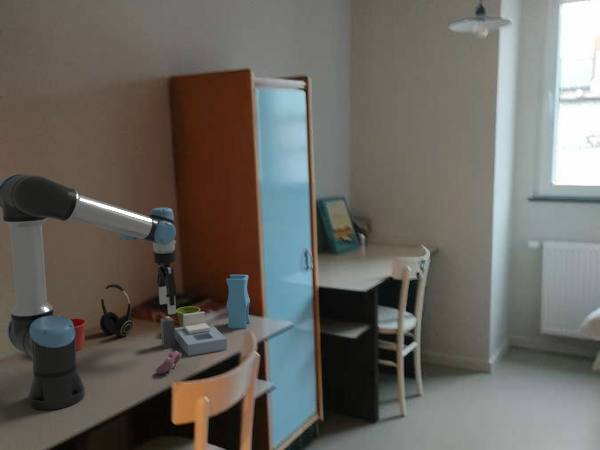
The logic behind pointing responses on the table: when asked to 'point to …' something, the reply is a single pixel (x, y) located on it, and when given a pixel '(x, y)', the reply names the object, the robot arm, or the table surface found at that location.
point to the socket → (201, 341)
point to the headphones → (116, 318)
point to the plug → (167, 332)
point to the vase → (238, 301)
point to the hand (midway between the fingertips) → (167, 308)
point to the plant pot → (185, 312)
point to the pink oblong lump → (169, 362)
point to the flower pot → (79, 332)
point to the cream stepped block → (195, 322)
